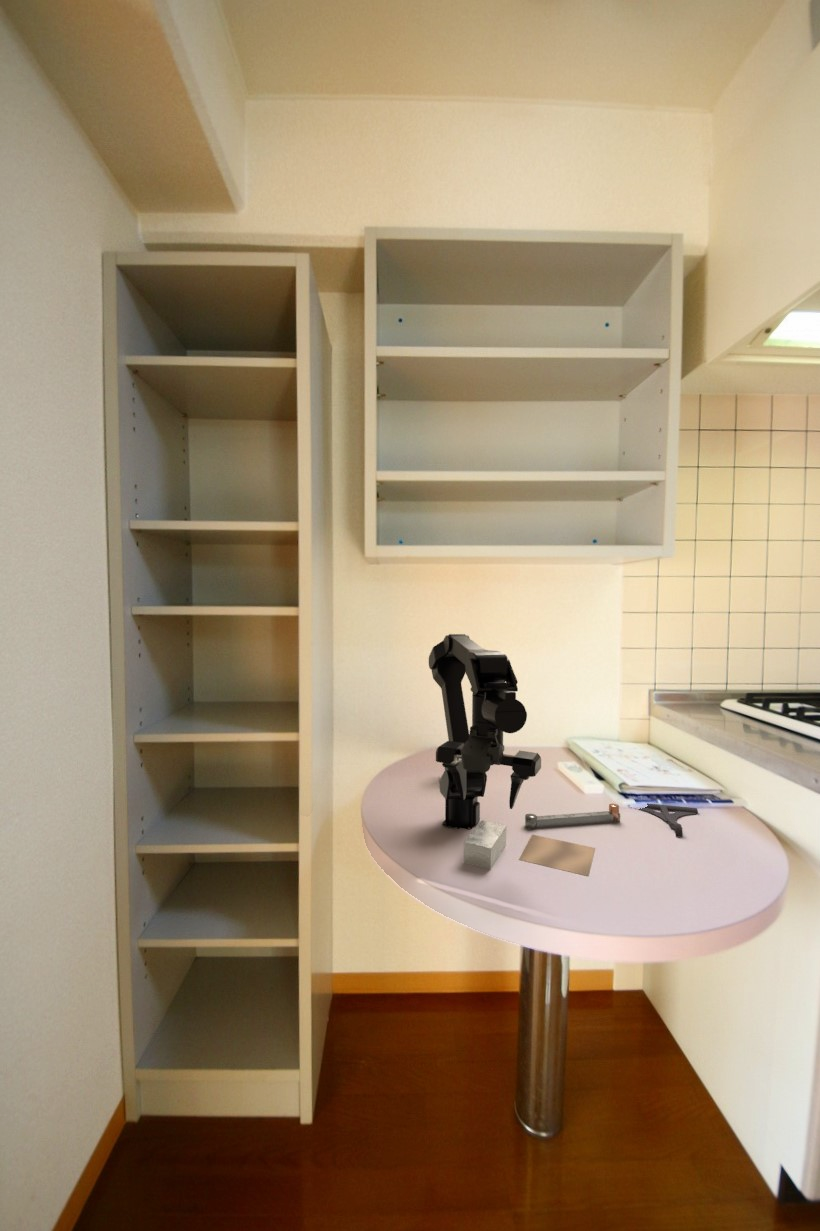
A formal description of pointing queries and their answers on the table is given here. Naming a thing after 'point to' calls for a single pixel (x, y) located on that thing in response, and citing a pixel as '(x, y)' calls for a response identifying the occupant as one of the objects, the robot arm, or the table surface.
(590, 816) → the lever
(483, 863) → the stone-textured block
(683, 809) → the bracket
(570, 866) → the plate
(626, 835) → the table surface
